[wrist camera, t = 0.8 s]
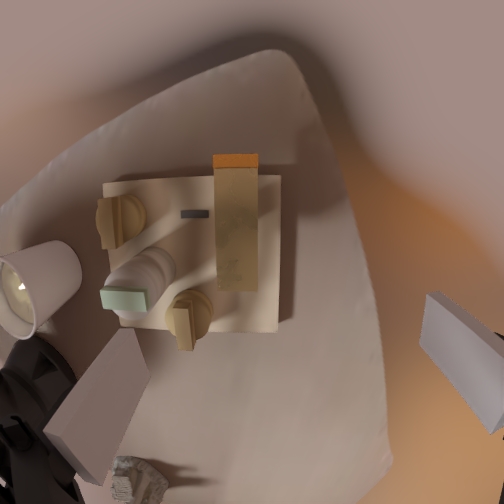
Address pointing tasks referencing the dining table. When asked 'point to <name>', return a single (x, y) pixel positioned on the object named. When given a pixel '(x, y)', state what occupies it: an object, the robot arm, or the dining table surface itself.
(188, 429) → the dining table surface
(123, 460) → the ceramic cottage
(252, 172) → the wing knob
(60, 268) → the candle holder
